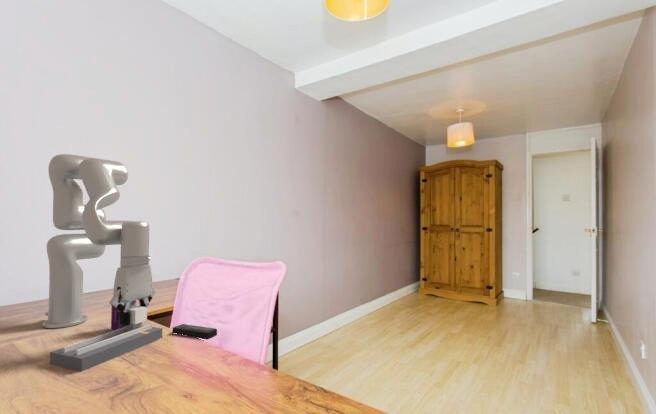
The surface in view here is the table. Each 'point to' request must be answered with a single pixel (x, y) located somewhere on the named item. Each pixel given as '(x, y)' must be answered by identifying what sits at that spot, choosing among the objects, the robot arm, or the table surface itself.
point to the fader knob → (136, 317)
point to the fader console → (103, 347)
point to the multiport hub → (195, 331)
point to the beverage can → (118, 317)
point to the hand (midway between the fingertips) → (133, 321)
